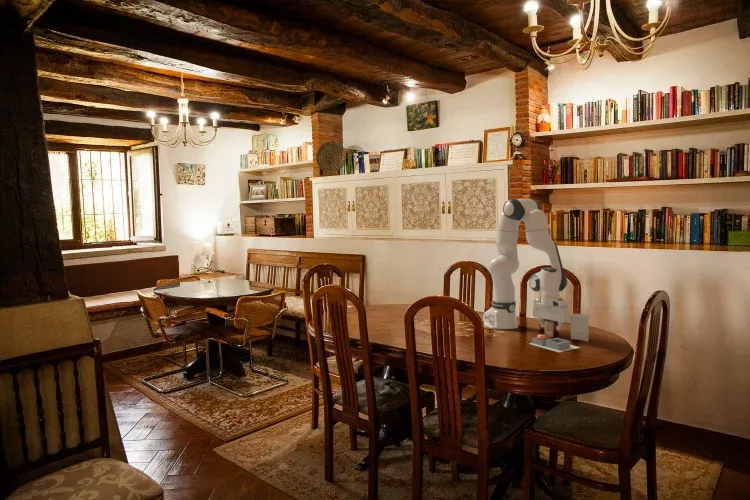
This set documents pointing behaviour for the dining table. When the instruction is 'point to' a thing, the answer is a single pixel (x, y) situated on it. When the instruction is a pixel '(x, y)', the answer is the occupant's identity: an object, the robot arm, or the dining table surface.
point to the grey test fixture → (554, 344)
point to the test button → (541, 337)
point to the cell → (549, 328)
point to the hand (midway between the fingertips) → (551, 328)
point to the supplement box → (579, 327)
